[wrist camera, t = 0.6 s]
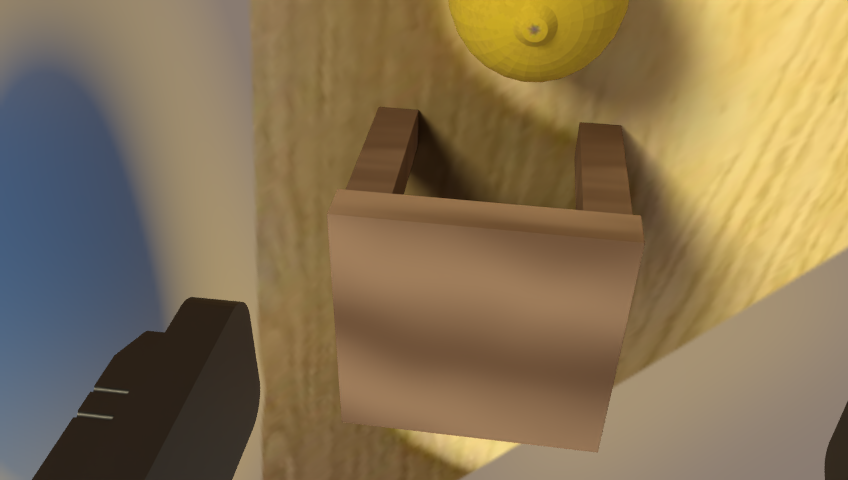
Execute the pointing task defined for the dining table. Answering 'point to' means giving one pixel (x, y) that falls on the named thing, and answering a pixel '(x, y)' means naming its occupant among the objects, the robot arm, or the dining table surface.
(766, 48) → the dining table surface
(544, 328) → the stool
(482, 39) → the lemon
